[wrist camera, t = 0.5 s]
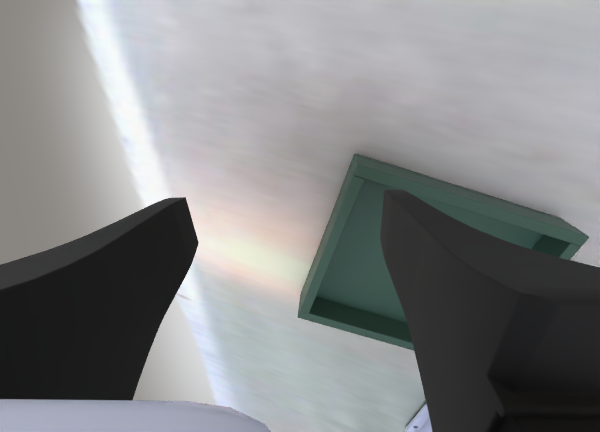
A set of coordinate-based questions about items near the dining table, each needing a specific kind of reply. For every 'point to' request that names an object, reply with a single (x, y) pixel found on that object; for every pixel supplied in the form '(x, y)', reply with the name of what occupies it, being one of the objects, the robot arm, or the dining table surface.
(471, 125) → the dining table surface
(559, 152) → the dining table surface
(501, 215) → the tray
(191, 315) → the dining table surface
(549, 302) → the robot arm
